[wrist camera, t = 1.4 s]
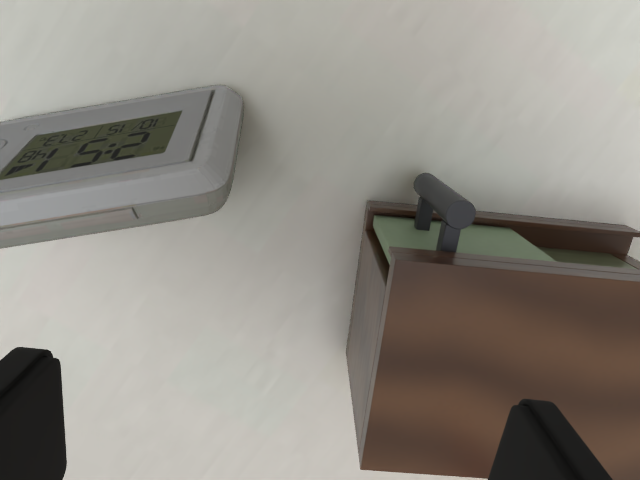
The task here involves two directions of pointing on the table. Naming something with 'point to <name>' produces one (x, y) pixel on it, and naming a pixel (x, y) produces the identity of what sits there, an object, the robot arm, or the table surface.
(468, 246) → the sliding door
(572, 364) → the cabinet
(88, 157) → the digital clock
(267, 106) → the table surface
